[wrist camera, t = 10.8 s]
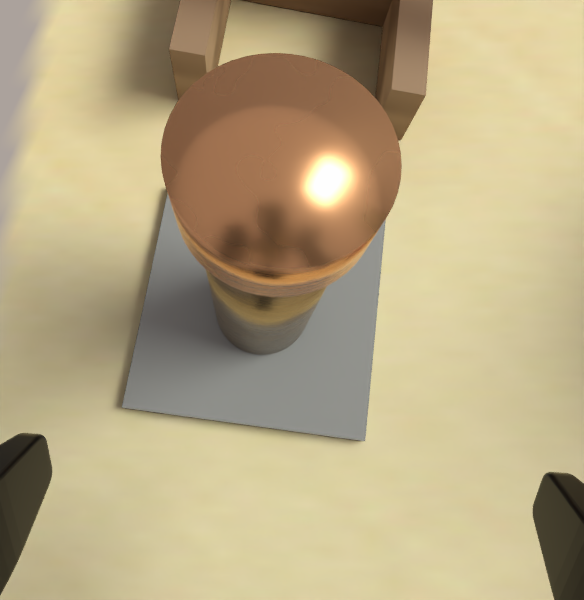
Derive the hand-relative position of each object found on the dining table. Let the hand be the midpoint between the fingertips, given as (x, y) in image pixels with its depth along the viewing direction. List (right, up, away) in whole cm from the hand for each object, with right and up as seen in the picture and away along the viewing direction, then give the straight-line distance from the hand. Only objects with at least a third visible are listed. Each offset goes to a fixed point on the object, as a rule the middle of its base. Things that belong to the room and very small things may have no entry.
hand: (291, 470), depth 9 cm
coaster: (-1, +3, +13) cm, 14 cm away
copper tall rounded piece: (-1, +3, +13) cm, 13 cm away
